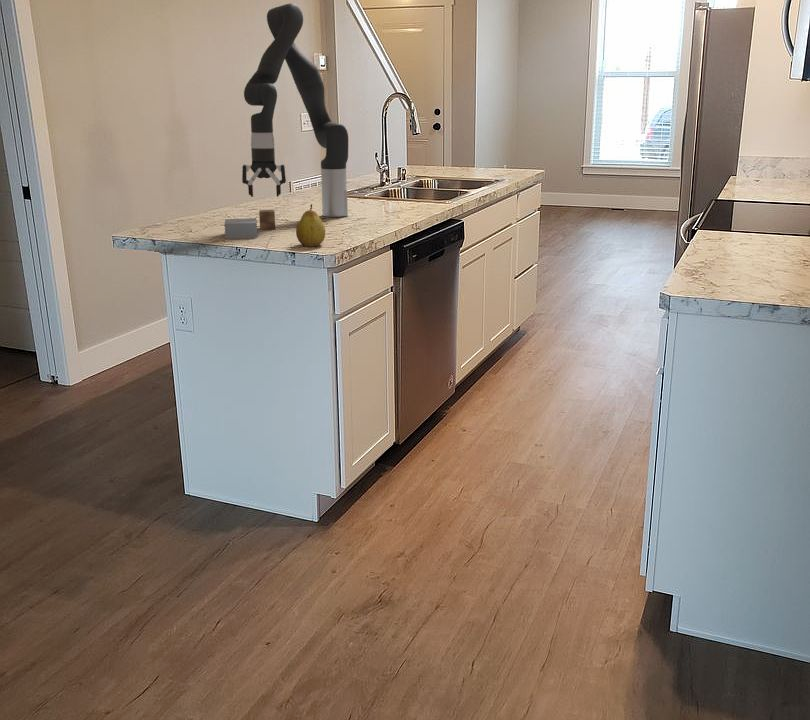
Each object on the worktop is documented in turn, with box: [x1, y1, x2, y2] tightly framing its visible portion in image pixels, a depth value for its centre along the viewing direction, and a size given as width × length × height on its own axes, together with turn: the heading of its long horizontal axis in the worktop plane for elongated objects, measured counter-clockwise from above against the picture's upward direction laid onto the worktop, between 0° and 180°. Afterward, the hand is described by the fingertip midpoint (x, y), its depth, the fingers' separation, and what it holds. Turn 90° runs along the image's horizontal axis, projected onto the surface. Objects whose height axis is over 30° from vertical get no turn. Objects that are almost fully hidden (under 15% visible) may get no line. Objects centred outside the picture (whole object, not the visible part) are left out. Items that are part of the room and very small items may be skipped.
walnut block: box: [258, 209, 276, 231], centre depth 283 cm, size 5×5×6 cm
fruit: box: [295, 203, 327, 247], centre depth 252 cm, size 9×9×12 cm
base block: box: [224, 217, 258, 239], centre depth 270 cm, size 10×10×5 cm
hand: (264, 196), depth 281 cm, fingers open, 8 cm apart
